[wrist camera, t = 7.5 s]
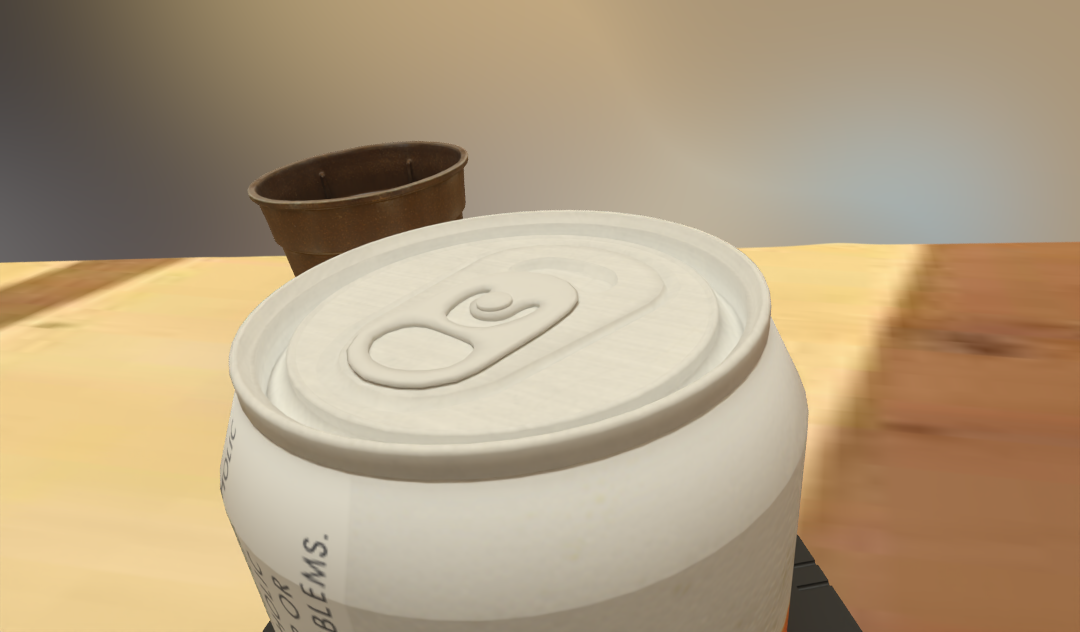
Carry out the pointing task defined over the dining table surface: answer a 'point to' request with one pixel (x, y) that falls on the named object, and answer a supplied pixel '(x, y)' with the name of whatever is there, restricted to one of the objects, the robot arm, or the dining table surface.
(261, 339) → the beer can
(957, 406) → the dining table surface
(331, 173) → the plant pot
